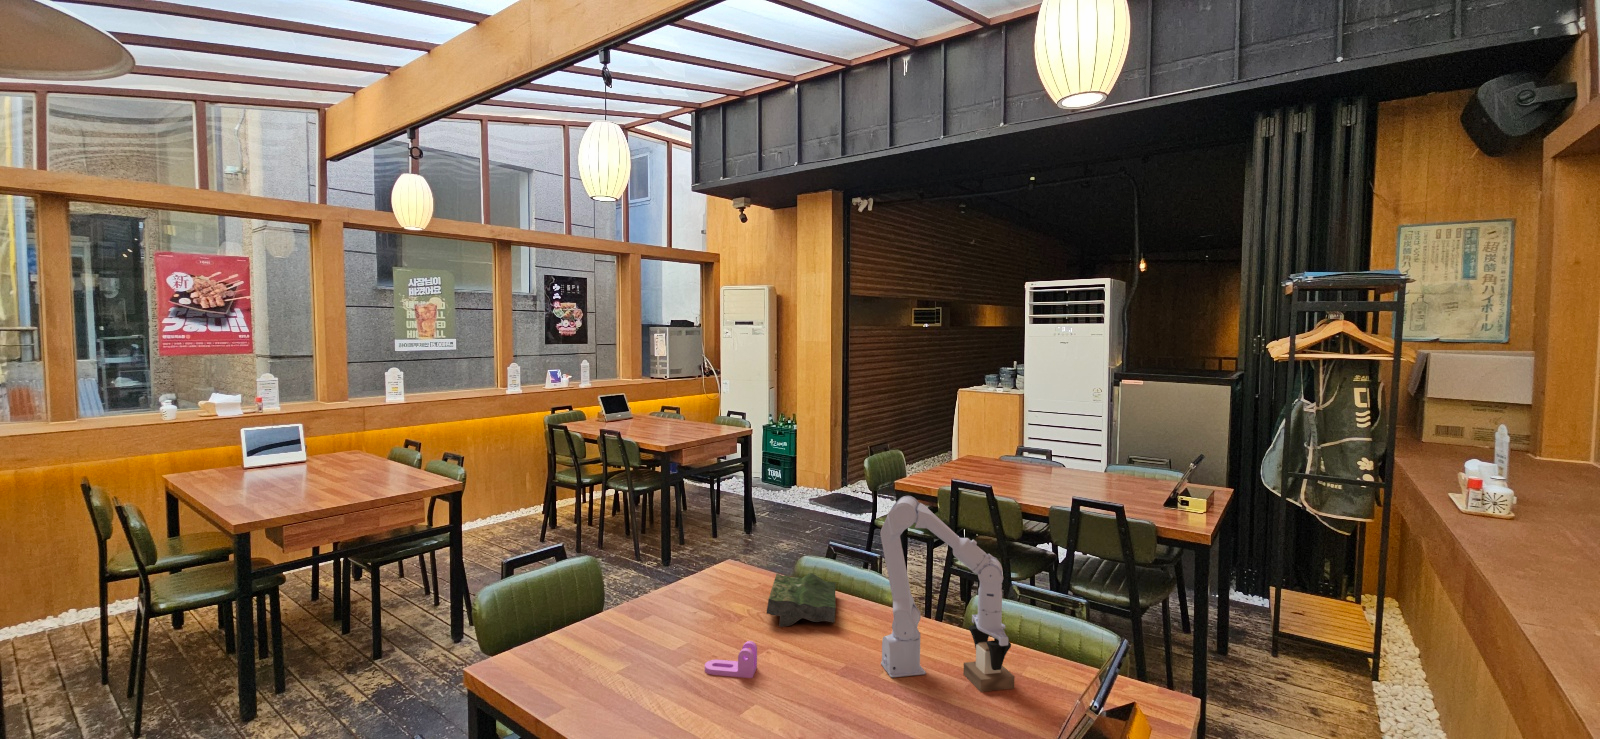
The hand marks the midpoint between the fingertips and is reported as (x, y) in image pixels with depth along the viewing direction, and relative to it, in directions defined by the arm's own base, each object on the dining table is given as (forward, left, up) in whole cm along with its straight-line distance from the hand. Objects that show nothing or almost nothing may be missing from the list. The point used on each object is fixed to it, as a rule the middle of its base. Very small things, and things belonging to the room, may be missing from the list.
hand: (988, 662), depth 164 cm
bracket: (-63, +18, -5) cm, 65 cm away
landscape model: (-35, +53, -5) cm, 64 cm away
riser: (0, 0, -5) cm, 5 cm away
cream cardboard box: (0, 0, -2) cm, 2 cm away
